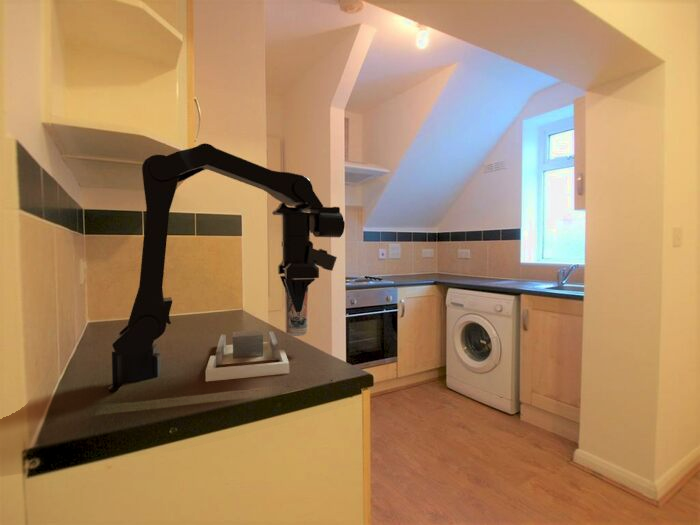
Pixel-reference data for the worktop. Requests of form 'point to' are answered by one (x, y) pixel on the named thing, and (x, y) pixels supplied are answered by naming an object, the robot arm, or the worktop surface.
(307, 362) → the worktop surface
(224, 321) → the worktop surface
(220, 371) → the tray
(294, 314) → the beer can
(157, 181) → the robot arm
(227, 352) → the slot plate
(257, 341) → the grey block
